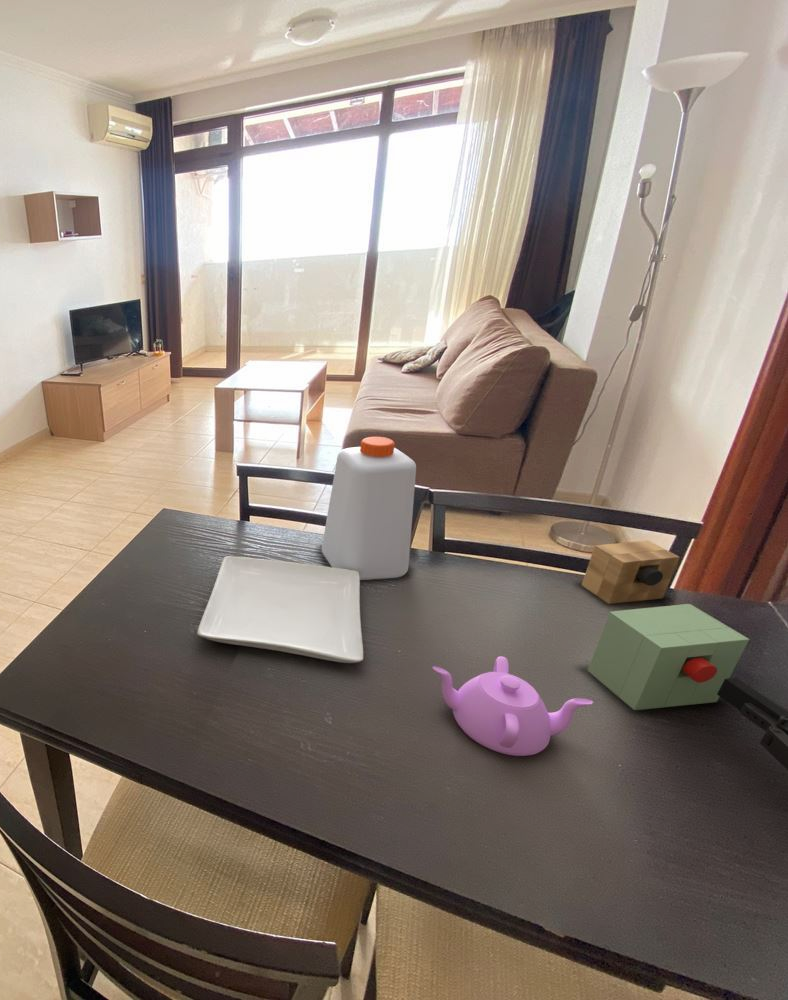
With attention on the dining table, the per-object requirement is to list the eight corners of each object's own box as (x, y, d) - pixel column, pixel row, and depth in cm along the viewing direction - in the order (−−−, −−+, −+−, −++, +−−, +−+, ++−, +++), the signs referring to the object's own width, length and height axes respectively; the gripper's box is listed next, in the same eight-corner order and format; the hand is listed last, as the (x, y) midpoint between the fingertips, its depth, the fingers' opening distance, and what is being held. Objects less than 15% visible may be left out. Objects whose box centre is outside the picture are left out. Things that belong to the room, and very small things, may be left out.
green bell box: (632, 713, 77) (661, 648, 72) (586, 673, 84) (609, 611, 79) (715, 705, 77) (749, 639, 72) (661, 666, 84) (689, 603, 79)
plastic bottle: (340, 585, 110) (354, 457, 98) (315, 548, 124) (325, 432, 112) (415, 579, 110) (438, 450, 98) (381, 543, 123) (398, 426, 111)
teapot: (575, 749, 72) (594, 701, 69) (489, 777, 70) (504, 728, 66) (499, 687, 83) (512, 642, 79) (422, 709, 80) (431, 663, 77)
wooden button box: (607, 606, 97) (623, 562, 93) (580, 588, 103) (594, 545, 99) (661, 601, 98) (680, 556, 94) (631, 583, 103) (648, 540, 99)
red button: (690, 683, 73) (699, 666, 71) (679, 675, 74) (686, 658, 73) (712, 681, 73) (721, 664, 71) (700, 673, 74) (708, 656, 73)
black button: (642, 586, 94) (648, 572, 93) (634, 581, 96) (640, 567, 94) (659, 585, 94) (665, 570, 93) (651, 580, 96) (656, 565, 94)
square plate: (224, 568, 119) (224, 553, 117) (358, 585, 110) (360, 568, 108) (196, 648, 96) (195, 631, 95) (361, 678, 87) (364, 659, 85)
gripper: (912, 909, 50) (666, 711, 71) (1050, 896, 50) (763, 702, 71) (959, 859, 47) (687, 668, 68) (1106, 845, 47) (788, 658, 68)
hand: (726, 686), depth 70 cm, fingers closed
